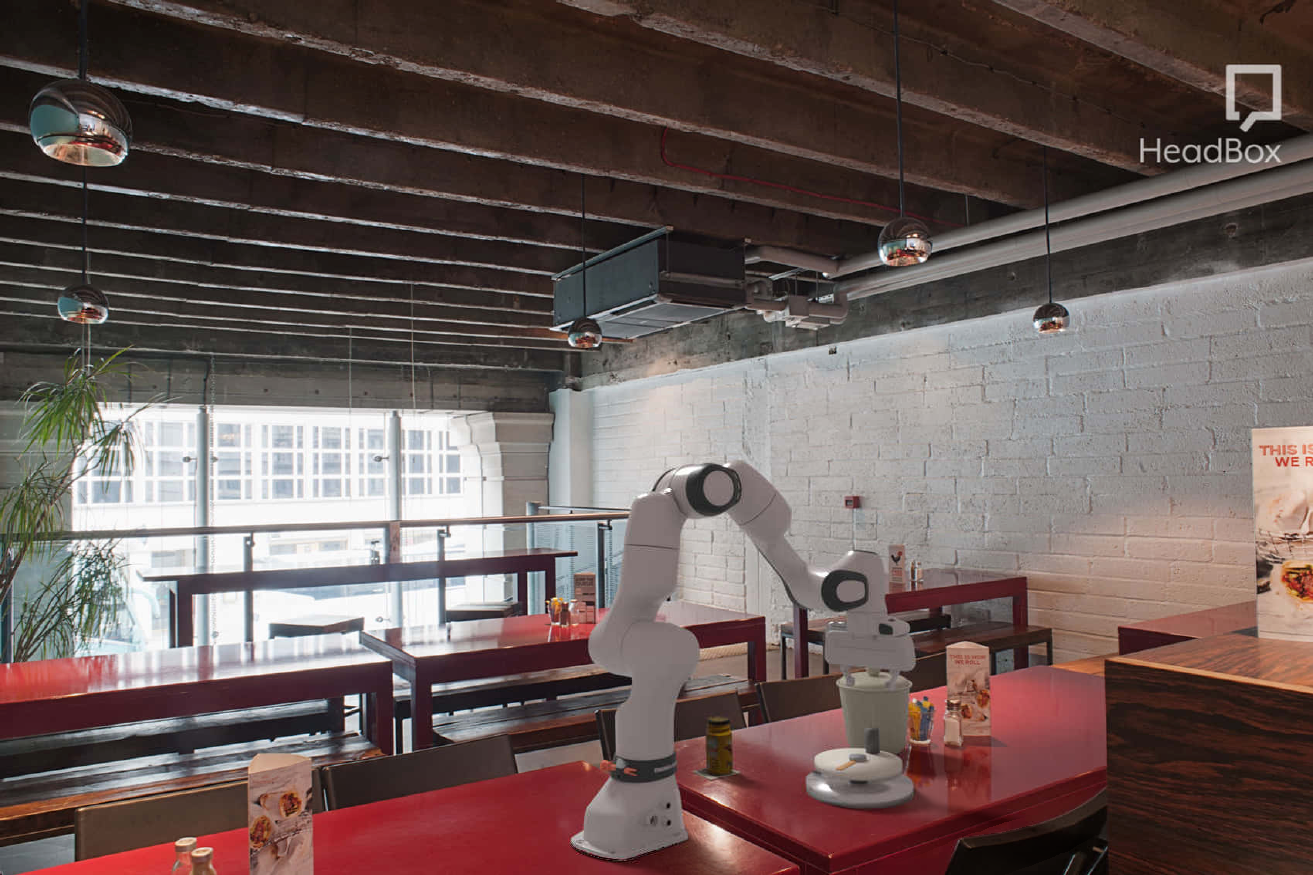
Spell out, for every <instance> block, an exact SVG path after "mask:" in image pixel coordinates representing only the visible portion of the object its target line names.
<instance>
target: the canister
mask: <svg viewBox="0 0 1313 875" xmlns="http://www.w3.org/2000/svg"><path fill="white" fill-rule="evenodd" d="M881 670H882V669H877V668H867V667H865V671H860V672H858V671H857V672H850V674H851V676H852V677H855V686H846V679H845V677H844V675H843V676H842V677H841V678H839V679H837V680H836V682H835V684H836V686H837V687H838V688H839V689H838V690H839V697H840V703H841V707H842V708H841V709H842V716H843V722H844V723H843V724H844V728H845V734H846V738H847V739H846V740H847V743H848V745H849V748H863V749H866V745H865V728H866V727H876V728H879V742H880V751H884V752H888V753H891V754H893V755H896V756H897V755H899V754H901V752H903V751H904V749H905V747H906V742H907V735H908V724H909V723H908V722H909V707H910V704H909V703H910V689H911V688H912V687H913V682H912V681H911V680H908V679H907V678H906V677H904V676H902V675H900V674H899V676H898V678H897V680H896V682H895V690H894V691H887V690H886V689H885V688H886V686H885V682H887V681H890V679H891V677H892V675H890V674H889V672H884V671H881Z"/></svg>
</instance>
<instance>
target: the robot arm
mask: <svg viewBox="0 0 1313 875" xmlns="http://www.w3.org/2000/svg"><path fill="white" fill-rule="evenodd" d="M724 513H726V514H727V515H728V516H729V517H730V518H731V519H732V521H733V522H734V523H735V524H736V525H737V527H739V528H740V529H741V530H742V531H743V533H744V534H745V535H747V537H748V538H749V539H750V540H751V542H752V543H753V545H754V546H755V548H756V549H757V550H758V551H759V553H760V555H761V556H762V558H764V559H765V560H766V562H767V563H768V564H769V565H770V567H771V568H772V569H773V571H774V572H775V574H776V575H777V576H778V577H779V579H780V580H781V582H782V584H783V587H784V590H785V591H786V595H787V596H788V598H789V600H790V602H791V603H792V604H793V605H794V606H796V608H799V609H801V610H810V611H811V610H814V611H815V610H817V611H822V612H829V613H837V614H838V613H844V612H845V616H846V617H845V618H846V622H845V621H843V622H838V621H830V622H829V623H827V625H826V626H825V628H824V635H825V636H824V637H825V642H824V643H825V644H824V660H825V661H826V662H827V664H830V665H839V667H840V668H839V669H840V672H841V673H842V675H843V676H844V677H845V679H846V686H855V677H852V676H851V672H850V669H851V667H858V668H859V667H860V668H866V667H867V668H877V669H881V670H887V671H888V673H889V674H890V675H892V677H891V679H890V681H887V682H885V686H886V688H885V689H886V690H887V691H894V690H895V682H896V680H897V678H898V676H899V675H900V672H909V671H911V670H913V669H914V668H915V666H916V664H917V663H916V652H915V645H914V641H913V638H912V637H911V636H910V634H908V633H910V631H911V627H910V624H909V623H908V622H907V621H904V620H901V619H899V618H896V617H893V616H891V615H889V614H888V608H887V604H886V598H885V597H886V593H887V585H886V584H887V582H886V574H885V567H884V562H883V559H882V557H881V555H880V554H878V553H877V552H874V551H870V550H861V549H849V550H847V551H846V552H845V554H844V556H842V557H841V558H840V559H839V560H837V561H836V562H834V563H832V564H830V565H829V566H822V565H815V564H812V563H809V562H807V561H804V560H803V559H802V558H801V556H800V555H799V554H798V552H797V551H796V550H795V549H794V548H793V547H792V545H791V544H790V542H789V541H788V540H787V539H786V537H785V534H787V531H788V530H789V528H790V526H791V522H792V509H791V507H790V506H789V504H788V502H787V501H786V499H785V498H784V496H782V494H781V493H780V492H779V491H778V490H777V488H776V487H775V486H774V485H773V484H772V483H771V482H770V481H769V480H768V479H767V478H766V477H764V475H762V473H760V472H759V471H758V470H757V469H756V468H754V467H753V466H752V465H750V464H749V463H747V462H746V461H745V460H744V461H743V460H740V459H732V460H729V461H727V462H725V463H724V464H722V465H721V464H718V463H715V462H703V463H697V464H695V463H690V464H685V465H681V466H678V467H676V468H675V467H674V468H671V469H667V471H665V472H663V474H661V475H660V476H659V478H658V479H657V480H656V481H655V483H654V485H653V487H652V490H651V491H647V492H644V493H641V494H639V495H637V496H636V497H635V499H633V501H632V504H631V507H630V510H629V513H628V518H627V523H626V526H625V532H624V540H623V549H622V557H621V558H622V559H621V565H620V566H621V567H620V575H619V581H618V585H617V589H616V593H615V595H614V598H613V601H612V603H611V605H610V607H609V609H608V611H607V613H606V615H604V616H603V618H602V619H601V621H600V622H597V623H596V625H595V626H594V628H593V629H592V630H591V632H590V634H589V637H588V642H587V643H588V644H587V645H588V646H587V648H588V653H589V656H590V658H591V661H592V662H593V663H594V664H595V665H596V666H598V667H600V668H601V669H603V670H605V671H606V672H609V673H611V674H613V675H618V676H623V677H629V678H631V680H632V681H631V682H632V683H631V690H630V694H629V696H628V698H627V700H626V701H624V702H623V703H621V705H620V706H619V707H618V708H617V709H616V711H615V717H614V719H615V720H614V722H615V752H614V754H613V756H612V761H608V760H606V759H603V760H602V761H600V764H599V765H600V766H599V770H600V771H601V772H605V773H609V778H608V779H607V780H606V782H605V783H604V784H603V786H602V787H601V789H600V790H599V791H598V792H597V794H596V795H595V796H594V797H593V799H592V801H591V802H590V803H589V805H587V807H586V809H585V812H584V819H583V820H584V821H583V830H582V831H580V832H578V833H577V834H574V836H572V837H571V838H570V844H571V843H572V845H573V846H574V847H576V848H577V849H579V850H583V851H585V852H587V853H592V854H594V855H598V856H601V857H607V858H613V859H627V858H630V857H635V856H637V855H639V854H643V853H647V852H650V851H653V850H656V851H658V850H661V849H663V848H662V847H664V848H667V847H670V846H672V844H673V845H676V844H679V843H681V842H684V841H686V840H689V835H688V831H687V829H686V826H685V823H684V816H683V808H682V807H683V806H682V800H681V799H682V798H681V793H680V789H679V786H678V783H677V777H676V773H677V772H678V759H677V752H676V750H675V740H674V737H675V736H674V735H675V734H674V733H675V732H674V731H675V729H674V725H675V724H674V723H675V722H674V721H675V720H674V719H675V708H676V704H677V703H676V702H677V699H678V696H679V693H680V691H681V689H682V687H683V685H684V684H685V682H687V681H688V680H689V679H690V678H692V676H693V675H694V674H695V672H696V670H697V668H698V666H699V662H700V659H701V658H700V657H701V652H700V651H701V650H700V645H699V641H698V639H697V637H696V636H695V634H694V633H693V632H692V631H690V630H688V629H687V628H684V627H682V626H679V625H677V624H674V623H671V622H666V621H665V622H664V621H656V620H657V615H658V613H659V611H660V608H661V606H662V605H663V603H664V602H665V601H666V600H668V599H669V598H670V597H672V596H673V594H674V593H675V591H676V589H677V585H678V584H677V583H678V574H679V563H680V562H679V561H680V560H679V559H680V549H681V533H682V530H683V527H684V525H685V523H686V521H687V520H688V519H689V520H701V519H706V518H713V517H717V516H719V515H722V514H724ZM675 843H676V844H675ZM572 845H571V846H572ZM573 846H572V847H573ZM574 847H573V848H574ZM660 848H661V849H660ZM577 849H576V850H577ZM579 850H578V851H579ZM653 852H654V851H653ZM650 853H651V852H650ZM647 854H648V853H647ZM635 858H636V857H635Z"/></svg>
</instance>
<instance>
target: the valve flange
mask: <svg viewBox="0 0 1313 875" xmlns="http://www.w3.org/2000/svg"><path fill="white" fill-rule="evenodd" d="M805 789H806V793H807V794H808V796H809V797H811V798H813V799H814V800H816V801H818V802H821V803H824V804H828V805H830V806H836V807H840V808H847V809H848V808H849V809H857V810H858V809H860V810H864V809H865V810H869V809H870V810H871V809H872V810H874V809H885V808H893V807H897V806H900V805H903V804H906V803H907V802H909V801H911V800H912V798H914V795H915V794H914V792H915V791H914V782H913V780H912V779H911V778H910V777H908V776H907V775H905V774H904V773H902V772H901V773H900V774H899V775H897V776H895V777H892V778H888V779H882V780H872V781H858V780H846V779H839V778H835V777H831V776H827V775H825V774H822V773H820V772H819V771H817V770H816V769H814V770H812V772H809V774H807V775H806V777H805Z"/></svg>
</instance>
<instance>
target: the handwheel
mask: <svg viewBox="0 0 1313 875" xmlns="http://www.w3.org/2000/svg"><path fill="white" fill-rule="evenodd" d="M865 745H866V749H863V748H851V747H844V748H834V749H830V750H826V751H825V750H824V751H822V752H820V753H818V754H816V755H815V757H814V767H815V768H814V769H815V770H817V771H819V772H820V773H822V774H825V775H827V776H831V777H835V778H839V779H846V780H858V781H872V780H882V779H888V778H892V777H895V776H897V775H899V774H900V773H901V774H902V772H903V760H902V759H901V757H899V756H897V754H896V755H893V754H891V753H888V752H884V751H880V742H879V728H876V727H866V728H865Z"/></svg>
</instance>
